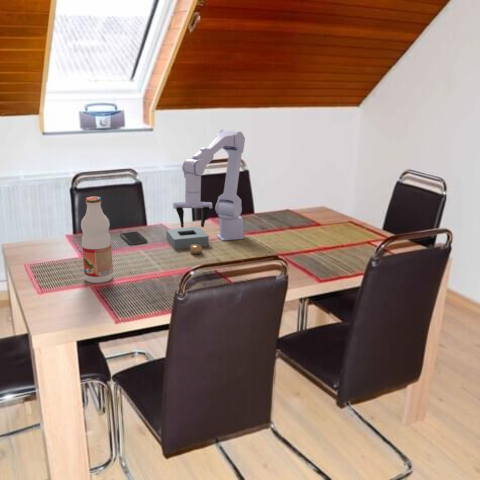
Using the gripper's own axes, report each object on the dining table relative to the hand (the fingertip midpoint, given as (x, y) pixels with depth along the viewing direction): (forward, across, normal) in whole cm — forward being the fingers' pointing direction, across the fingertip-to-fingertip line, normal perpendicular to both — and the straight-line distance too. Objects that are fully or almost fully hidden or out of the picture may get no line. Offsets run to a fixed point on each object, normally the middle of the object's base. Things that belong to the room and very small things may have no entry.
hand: (192, 226), depth 210 cm
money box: (+10, 0, +14) cm, 17 cm away
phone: (+11, -21, +23) cm, 33 cm away
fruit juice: (+13, -34, -18) cm, 41 cm away
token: (+11, +2, 0) cm, 11 cm away
